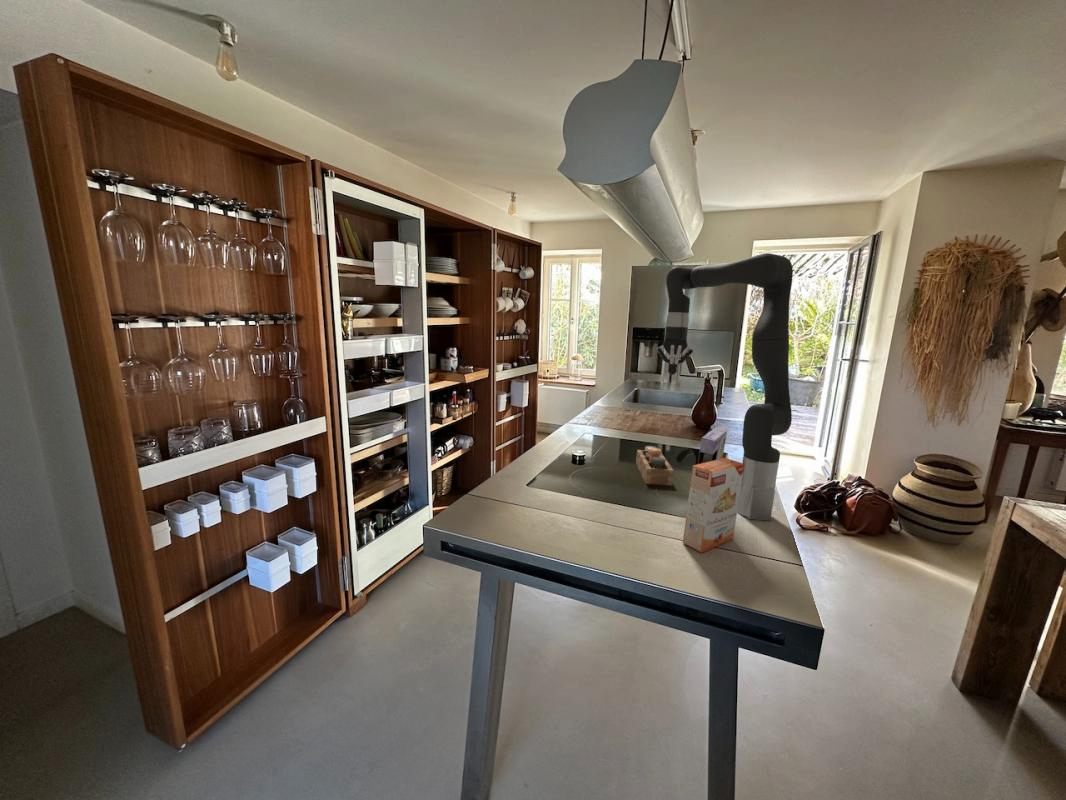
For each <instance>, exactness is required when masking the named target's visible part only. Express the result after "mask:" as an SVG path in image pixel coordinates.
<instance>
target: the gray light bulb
mask: <svg viewBox="0 0 1066 800" xmlns="http://www.w3.org/2000/svg"><path fill="white" fill-rule="evenodd" d="M665 459H666V458H665ZM665 459H663V458H659V457H653V458H652V463H653V468H659V469H663V465H665Z"/></svg>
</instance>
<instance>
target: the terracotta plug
mask: <svg viewBox="0 0 1066 800" xmlns="http://www.w3.org/2000/svg"><path fill="white" fill-rule="evenodd" d="M662 452H663V451H662V449H660V448H658V447H656V448H649V451H648V453H649V454H650V458H649V462H652V458H653V457H659V455H661V453H662Z"/></svg>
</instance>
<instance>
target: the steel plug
mask: <svg viewBox="0 0 1066 800" xmlns="http://www.w3.org/2000/svg"><path fill="white" fill-rule="evenodd" d="M649 448H657V447H656V446H652V445H647V446H645V447H644V450H645V452H646V456H650V454H649V453H648V451H649Z"/></svg>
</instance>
